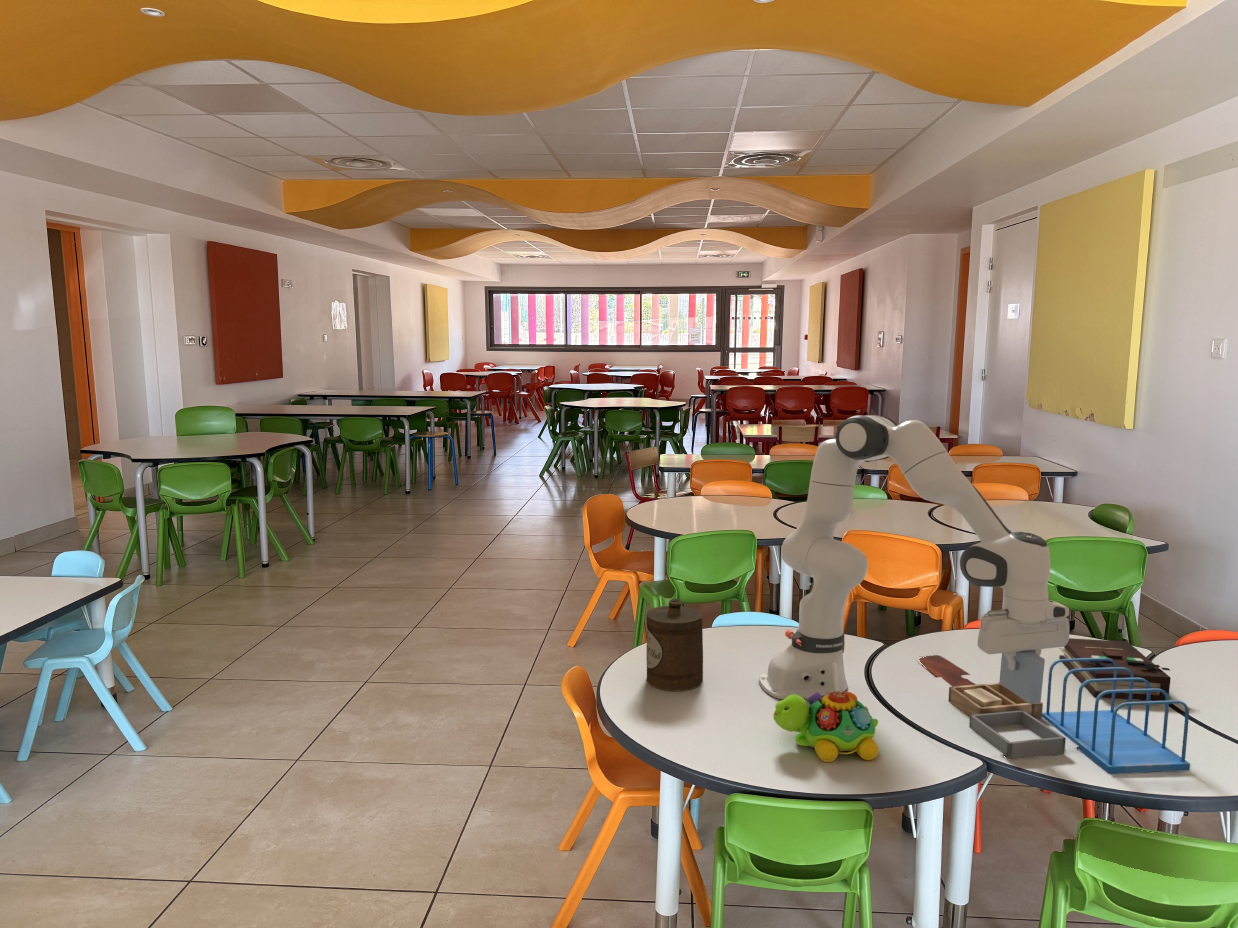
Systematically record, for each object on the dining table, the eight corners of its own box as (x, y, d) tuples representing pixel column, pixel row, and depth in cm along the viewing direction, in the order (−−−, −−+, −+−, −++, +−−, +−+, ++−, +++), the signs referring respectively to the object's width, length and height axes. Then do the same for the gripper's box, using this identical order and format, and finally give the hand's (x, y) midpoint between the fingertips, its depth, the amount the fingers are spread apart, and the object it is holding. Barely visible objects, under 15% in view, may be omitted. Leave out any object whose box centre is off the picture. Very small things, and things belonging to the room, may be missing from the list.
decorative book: (1128, 635, 228) (1181, 678, 199) (1126, 661, 230) (1178, 707, 200) (1053, 631, 232) (1094, 672, 203) (1051, 657, 233) (1092, 702, 204)
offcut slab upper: (983, 710, 192) (984, 702, 192) (963, 698, 199) (963, 690, 198) (1001, 707, 193) (1001, 699, 193) (980, 695, 200) (980, 687, 200)
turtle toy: (764, 729, 189) (765, 680, 188) (863, 726, 191) (865, 677, 189) (783, 766, 173) (784, 713, 171) (892, 762, 174) (894, 709, 173)
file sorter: (1040, 719, 194) (1045, 657, 192) (1112, 717, 195) (1117, 655, 192) (1108, 774, 169) (1114, 703, 167) (1190, 772, 170) (1197, 701, 168)
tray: (1008, 759, 175) (1009, 743, 174) (969, 729, 188) (969, 714, 188) (1064, 753, 177) (1065, 737, 177) (1021, 724, 191) (1022, 709, 190)
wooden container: (646, 668, 225) (646, 590, 222) (701, 669, 224) (701, 591, 221) (646, 691, 210) (646, 608, 207) (704, 692, 210) (705, 608, 207)
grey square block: (1029, 703, 177) (1034, 660, 175) (999, 682, 187) (1003, 641, 185) (1040, 702, 177) (1044, 659, 175) (1009, 681, 187) (1013, 640, 185)
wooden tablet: (996, 696, 208) (996, 689, 208) (958, 698, 207) (959, 691, 207) (943, 656, 234) (943, 651, 234) (909, 658, 233) (909, 652, 233)
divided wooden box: (979, 726, 190) (980, 708, 189) (948, 703, 202) (949, 686, 201) (1041, 720, 193) (1042, 703, 192) (1007, 698, 205) (1008, 681, 204)
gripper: (991, 616, 174) (988, 678, 176) (1076, 608, 178) (1072, 669, 180) (972, 606, 180) (970, 667, 182) (1055, 599, 184) (1051, 658, 186)
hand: (1021, 668), depth 181 cm, fingers closed on grey square block, 3 cm apart
